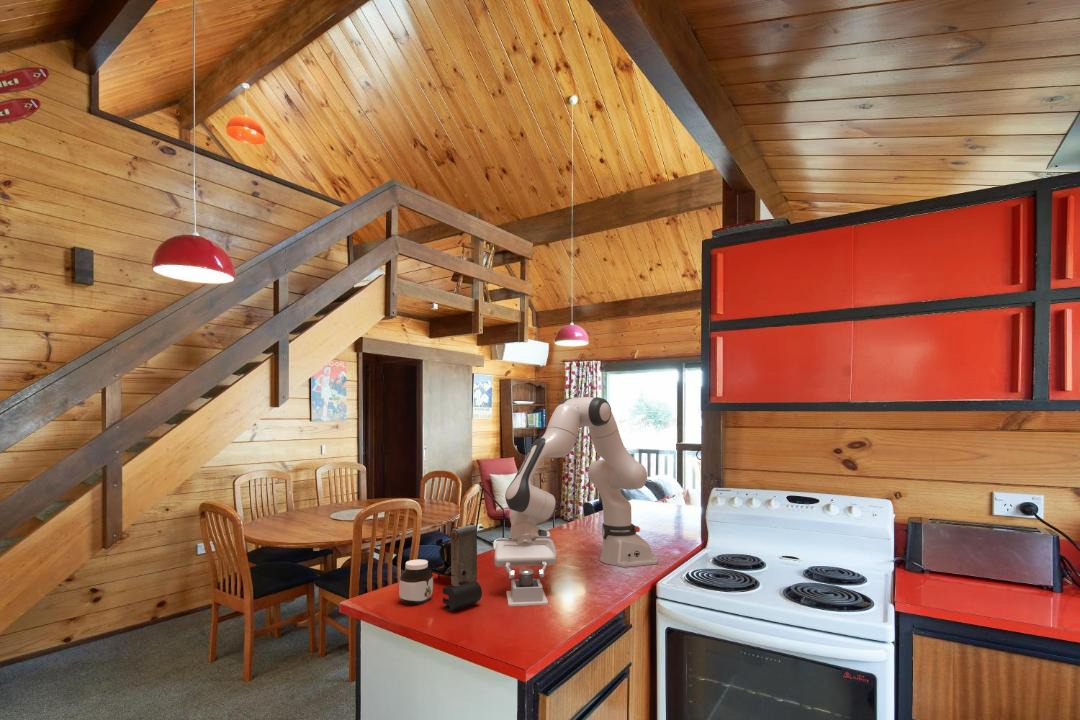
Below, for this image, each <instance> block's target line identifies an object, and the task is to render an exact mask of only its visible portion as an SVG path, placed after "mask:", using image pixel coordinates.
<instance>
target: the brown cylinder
mask: <svg viewBox="0 0 1080 720" xmlns="http://www.w3.org/2000/svg"><path fill="white" fill-rule="evenodd" d="M518 579H519V587H533V579H534V569H532V568H530V567H529V568H528V567H526V568H520V569H518Z"/></svg>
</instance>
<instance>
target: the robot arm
mask: <svg viewBox="0 0 1080 720" xmlns="http://www.w3.org/2000/svg"><path fill="white" fill-rule="evenodd" d="M579 427H581V428H584V427H588V430H589V435H590V439H591V441H592V445H593V448H594V451H595V452H596V454H597V455H598V456H599V457H601V458H602V459H598V460H594V461H592V462H591V463H590V465H589V466H588V469H587V476H588V480H589V481H590V482H591V483H592V484H593V486H594V487H595V488H596V489H597V491H598V493H599V496H600V499H601V502H602V512H603V513H602V515H603V517H602V518H603V522H602V526H601V534H602V535H601V537H602V547H601V551H600V557H599V561H600V562H602V563H604V564H607V565H613V566H618V567H622V568H628V567H639V566H647V565H649V566H650V565H657V564H658V561H659V559H658V558H657V556H655V555H653V553H652V552H653V551H652V548H651V546H650V544H649V543H648V542H647V540H645V539H643V537H641V536H640V535H638V533H639V532H640V531H641V528H640V527H639V526H638V525H635V524H634V523H632V504H631V503H630V501H629V500H628V499H627V498H625V497H624V495H623V494H622V491H621V490H628V491H631V490H639V489H643V487H644V486H645V485H646V484H647V479H648V471H647V470H646V468H645V466H644V465H643V464H641V463H640V462H638V461H637V460H636V459H635V458H634V457H633V456H632V455H631V454H630V453H629V451H628V450H627V448H626V447H625V445H624V442H623V441H622V437H621V435H620V431H619V427H618V425H617V421H616V418H615V416H614V414H613V413H612V407H611V405H610V403H609V401H608V400H607V399H605V398H603V397H600V396H599V397H598V396H597V397H595V396H594V397H592V396H581V397H573V398H572V397H569V398H565V399H563V400H561V401H560V402H559V404H558V405H557V407H556V408H555V409H554V411H553V412H552V415H551V417H550V419H549V421H548V424H547V427H546V429H545V432H544V433H543V435H542V436H541V437H538V438H536V439H535V440H534V442H532V444H531V446H530V448H529V449H528V451H527V453H526V455H525V457H524V459H523V461H522V463H521V465H520V466H519V468H518V471H517V472H516V475H515V477H514V478H513V479H512V481H511V482H510V484H509V485H508V487H507V488H506V490H505V502H506V504H507V507H508V508H509V521H510V525H511V526H510V530H509V531H510V537H504V538H501V537H500V538H497V539H495V540H494V541H493V542H492V548H493V551H494V557H493V558H494V560H493V562H494V563H493V564H494V566H495V567H498V568H499V567H504V569H505V570H506V572H507V573H508V577H509V579H515V570H512V569H511V567H524V566H525V567H526V566H541V569H539V570H538V578H544V577H545V571H546V569H547V566H554V565H556V562H557V559H558V554H557V549H556V545H555V543H554V541H553V539H552V538H551V537H552V535H551V532H550V531H549V530H546V529H542V528H538V527H537V525H540V524H542V523H544V522H547V521H548V520H550V519H551V518H552V517H553V516H554V515H555V513H556V510H557V500H556V497H555V496H554V495H553V494H551V493H550V492H549V491H546V490H544V489H541V488H539V487H537V486H535V485H534V484H532V480H533V477H534V475H535V473H536V471H537V470H538V467H539V465H540V463H541V462H542V461H543V459H545V458H563V457H566V456H567V455H569V454H570V453H571V452H572V451H573V449H574V447H575V443H576V440H577V436H578V434H579V433H578V432H579Z"/></svg>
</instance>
